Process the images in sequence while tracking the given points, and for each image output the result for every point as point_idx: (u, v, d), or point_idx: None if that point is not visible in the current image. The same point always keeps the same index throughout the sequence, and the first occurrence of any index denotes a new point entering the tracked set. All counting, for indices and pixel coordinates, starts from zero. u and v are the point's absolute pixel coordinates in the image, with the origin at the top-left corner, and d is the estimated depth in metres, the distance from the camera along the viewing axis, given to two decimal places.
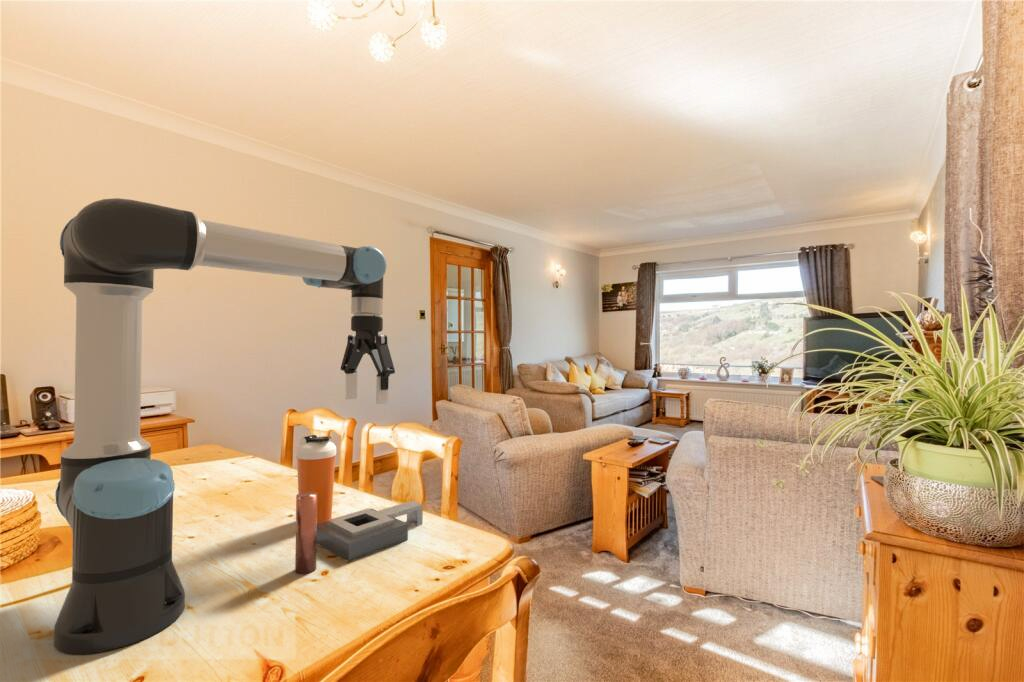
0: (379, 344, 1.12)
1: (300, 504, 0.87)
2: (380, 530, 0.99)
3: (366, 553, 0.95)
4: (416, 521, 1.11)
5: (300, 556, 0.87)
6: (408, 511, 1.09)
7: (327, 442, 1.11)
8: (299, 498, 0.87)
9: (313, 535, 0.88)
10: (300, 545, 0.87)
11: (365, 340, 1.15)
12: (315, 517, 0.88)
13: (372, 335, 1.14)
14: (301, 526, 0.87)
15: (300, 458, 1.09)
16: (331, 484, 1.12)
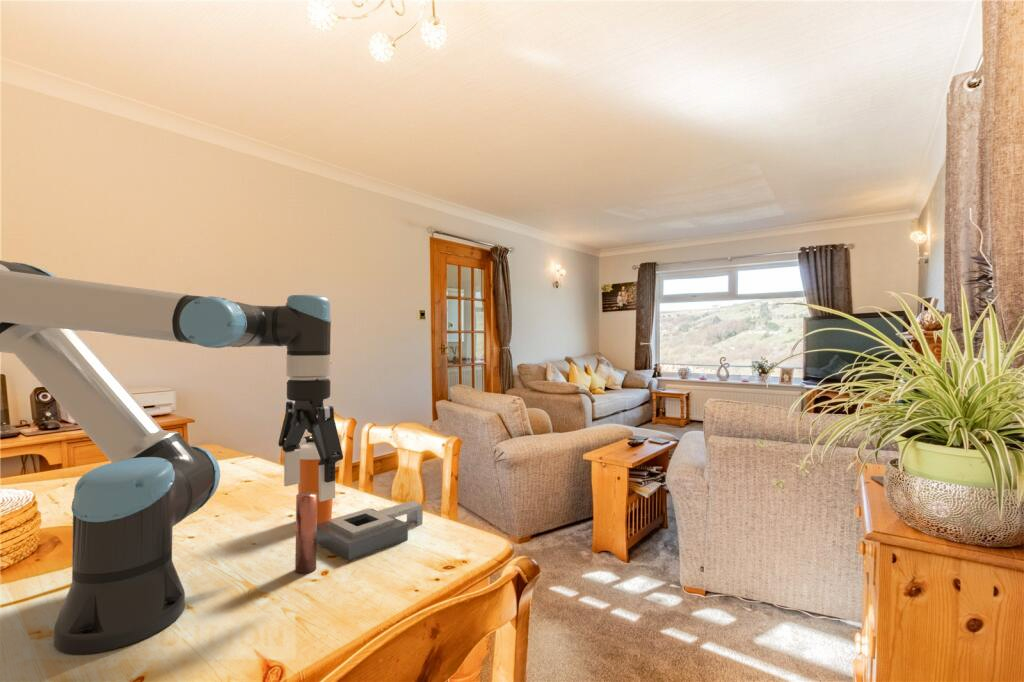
0: (322, 420, 0.83)
1: (300, 504, 0.87)
2: (380, 530, 0.99)
3: (366, 553, 0.95)
4: (416, 521, 1.11)
5: (300, 556, 0.87)
6: (408, 511, 1.09)
7: None
8: (299, 498, 0.87)
9: (313, 535, 0.88)
10: (300, 545, 0.87)
11: (305, 412, 0.86)
12: (315, 517, 0.88)
13: (314, 406, 0.85)
14: (301, 526, 0.87)
15: (300, 458, 1.09)
16: None
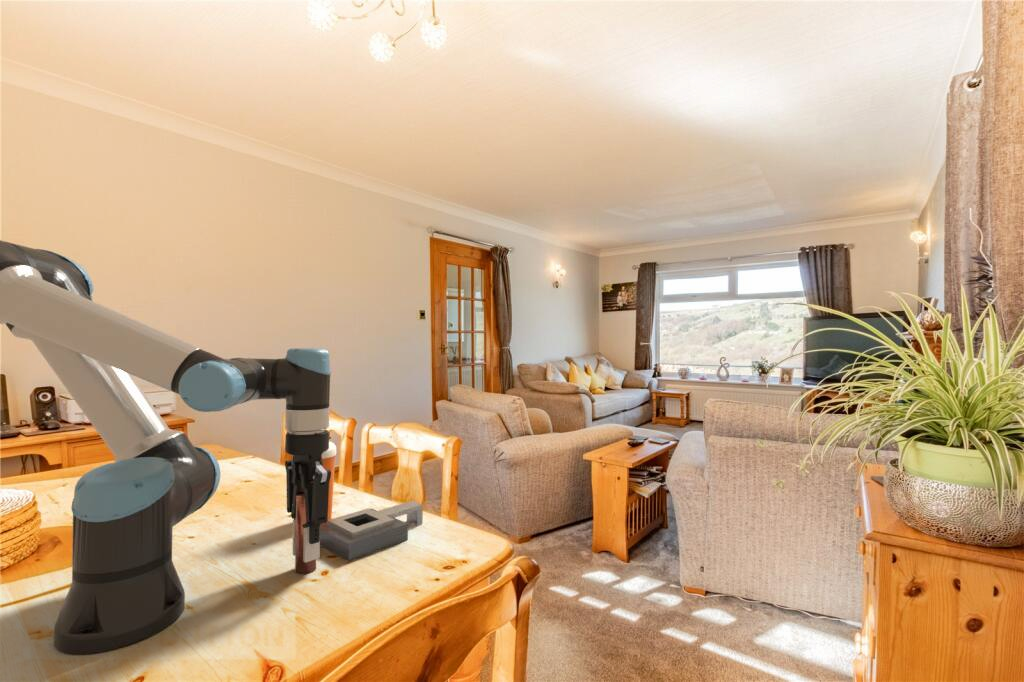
0: (317, 485, 0.84)
1: (300, 504, 0.87)
2: (380, 530, 0.99)
3: (366, 553, 0.95)
4: (416, 521, 1.11)
5: (300, 556, 0.87)
6: (408, 511, 1.09)
7: None
8: (299, 498, 0.87)
9: None
10: (300, 545, 0.87)
11: (303, 468, 0.86)
12: None
13: (313, 464, 0.85)
14: (301, 526, 0.87)
15: None
16: (331, 484, 1.12)
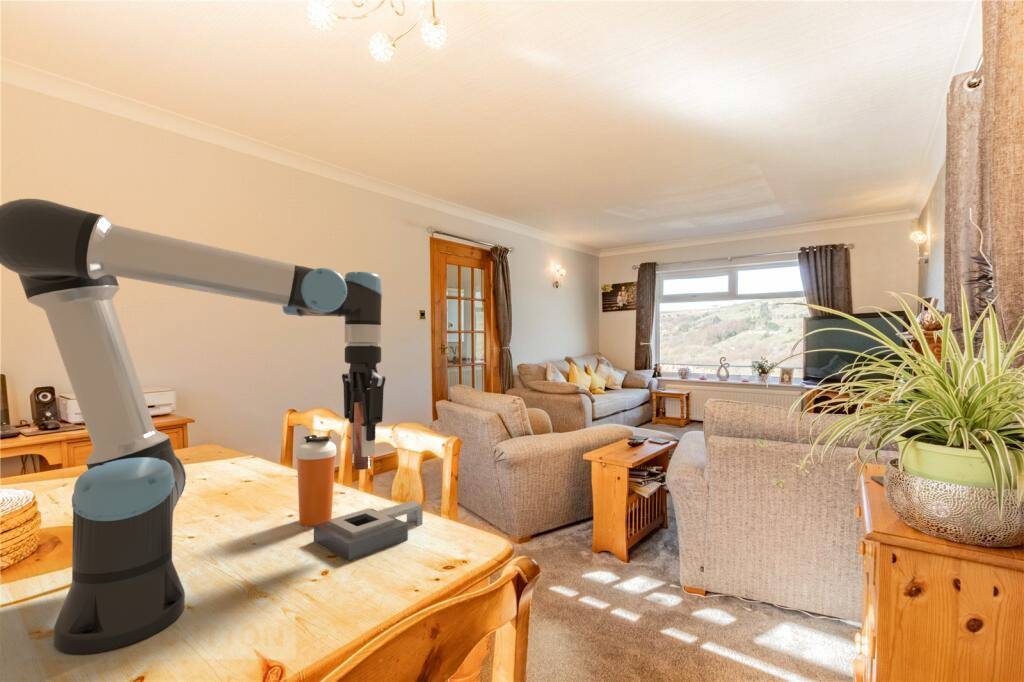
0: (374, 388, 0.97)
1: (358, 408, 1.00)
2: (380, 530, 0.99)
3: (366, 553, 0.95)
4: (416, 521, 1.11)
5: (359, 454, 1.00)
6: (408, 511, 1.09)
7: (327, 442, 1.11)
8: (357, 403, 1.00)
9: None
10: (358, 444, 1.00)
11: (361, 376, 0.99)
12: None
13: (370, 371, 0.98)
14: (359, 427, 1.00)
15: (300, 458, 1.09)
16: (331, 484, 1.12)
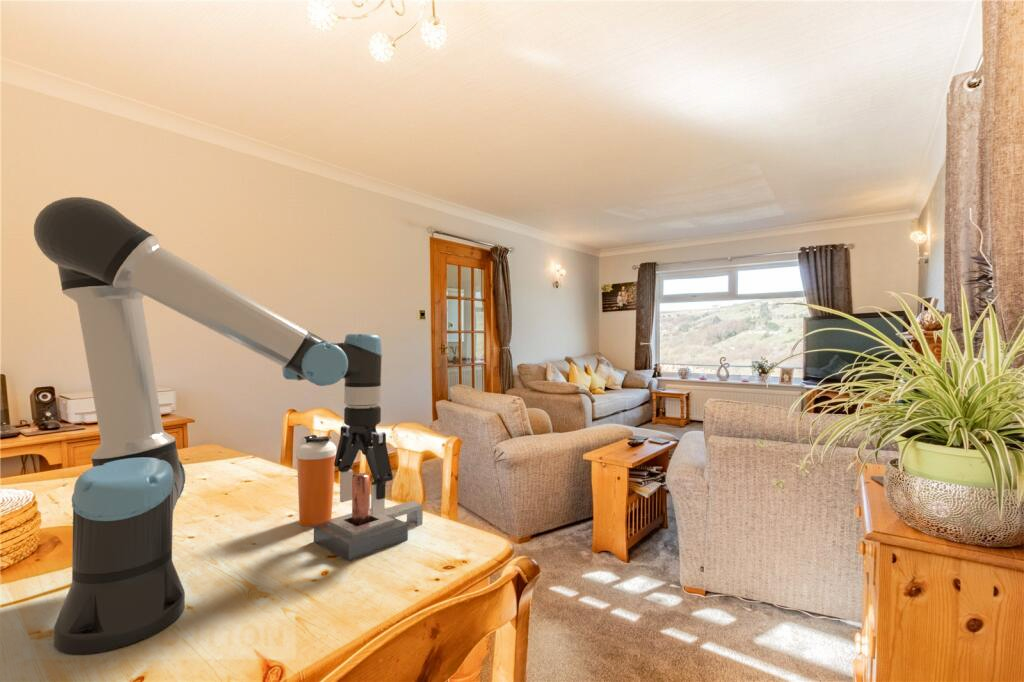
0: (376, 445, 0.96)
1: (356, 483, 1.00)
2: (380, 530, 0.99)
3: (366, 553, 0.95)
4: (416, 521, 1.11)
5: None
6: (408, 511, 1.09)
7: (327, 442, 1.11)
8: (355, 478, 1.00)
9: (367, 510, 1.01)
10: (356, 519, 1.00)
11: (360, 436, 0.99)
12: (368, 494, 1.01)
13: (369, 431, 0.99)
14: (357, 502, 1.00)
15: (300, 458, 1.09)
16: (331, 484, 1.12)
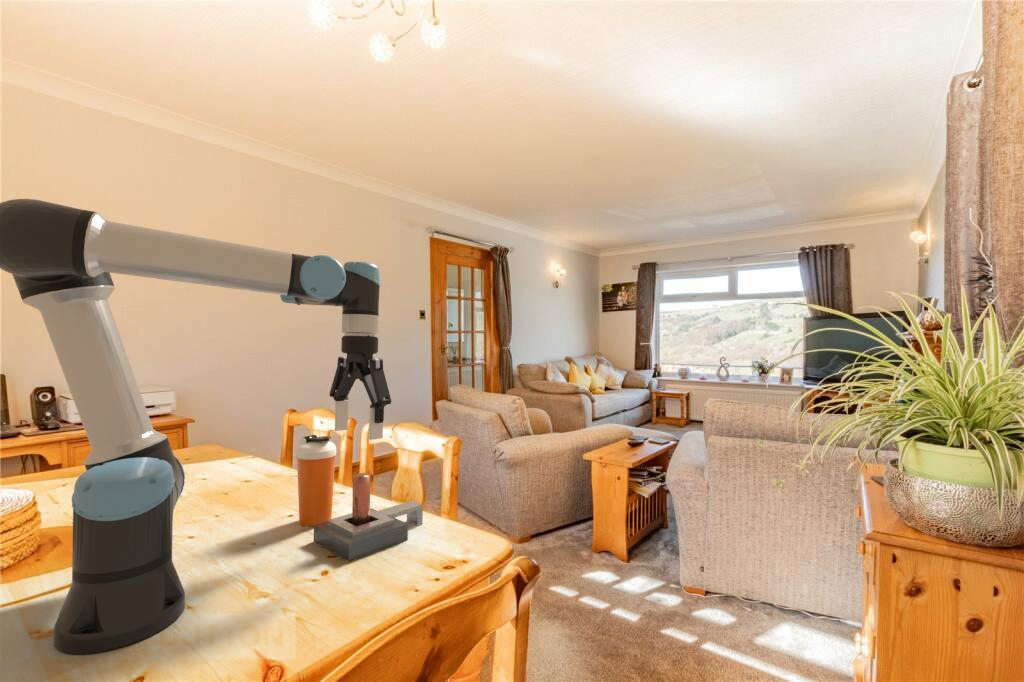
0: (373, 369, 0.96)
1: (357, 483, 1.00)
2: (380, 530, 0.99)
3: (366, 553, 0.95)
4: (416, 521, 1.11)
5: None
6: (408, 511, 1.09)
7: (327, 442, 1.11)
8: (355, 478, 1.00)
9: (368, 510, 1.01)
10: (357, 519, 1.00)
11: (357, 364, 0.99)
12: (369, 495, 1.01)
13: (365, 358, 0.98)
14: (358, 502, 1.00)
15: (300, 458, 1.09)
16: (331, 484, 1.12)
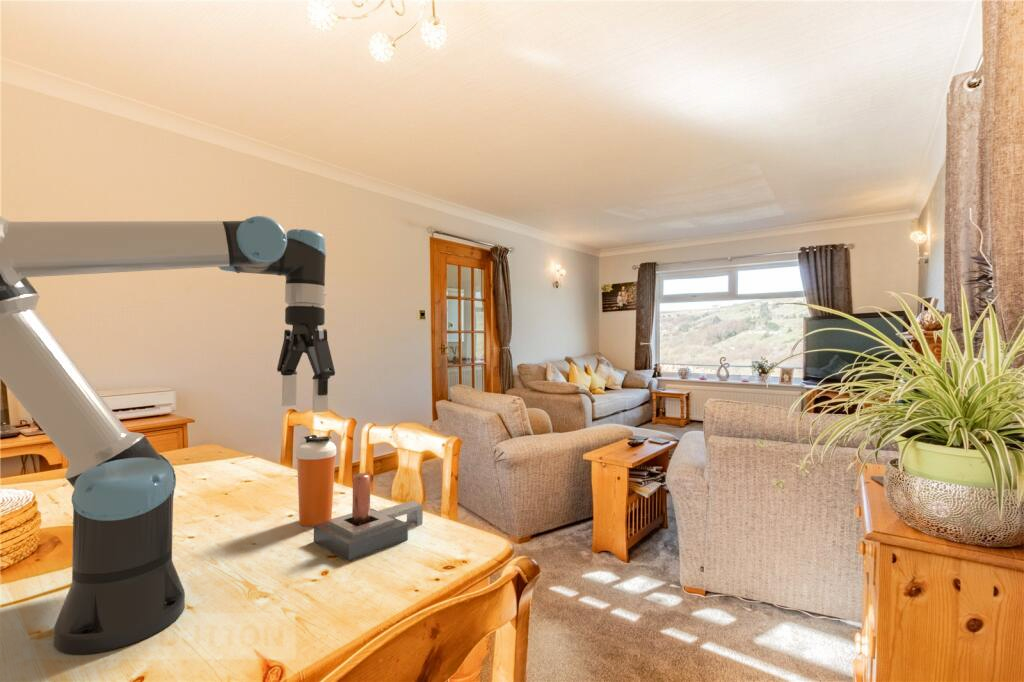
0: (316, 340, 0.93)
1: (357, 483, 1.00)
2: (380, 530, 0.99)
3: (366, 553, 0.95)
4: (416, 521, 1.11)
5: None
6: (408, 511, 1.09)
7: (327, 442, 1.11)
8: (355, 478, 1.00)
9: (368, 510, 1.01)
10: (357, 519, 1.00)
11: (301, 335, 0.96)
12: (369, 495, 1.01)
13: (309, 329, 0.95)
14: (358, 502, 1.00)
15: (300, 458, 1.09)
16: (331, 484, 1.12)
